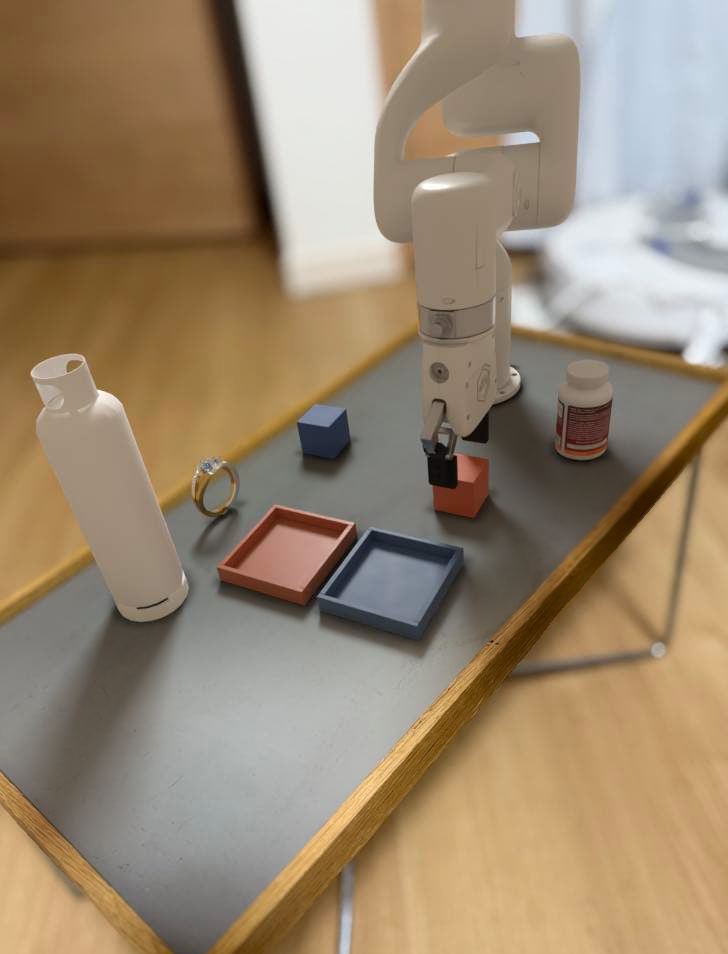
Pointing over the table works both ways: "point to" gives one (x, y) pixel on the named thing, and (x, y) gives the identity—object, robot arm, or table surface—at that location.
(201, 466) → the ring
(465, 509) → the terracotta block
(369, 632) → the table surface
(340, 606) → the blue tray
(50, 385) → the bottle
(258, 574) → the terracotta tray
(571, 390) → the pill bottle
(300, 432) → the blue block
